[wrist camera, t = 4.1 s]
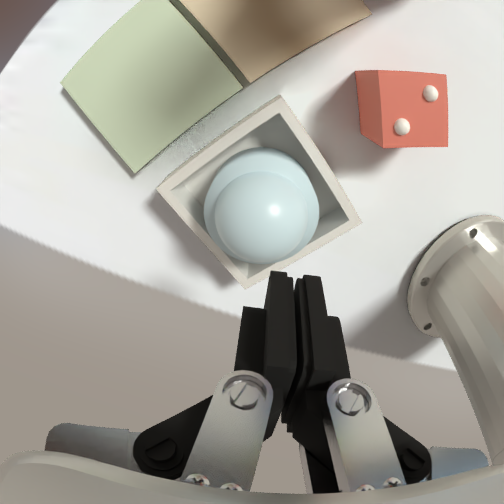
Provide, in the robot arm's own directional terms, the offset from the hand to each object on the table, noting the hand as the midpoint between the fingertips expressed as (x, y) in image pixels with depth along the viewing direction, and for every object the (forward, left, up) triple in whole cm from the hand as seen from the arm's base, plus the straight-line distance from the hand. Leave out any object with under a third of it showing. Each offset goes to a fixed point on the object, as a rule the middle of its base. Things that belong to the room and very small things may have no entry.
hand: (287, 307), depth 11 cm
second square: (+9, -7, -11) cm, 15 cm away
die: (-6, -7, -11) cm, 14 cm away
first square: (+2, -13, -11) cm, 17 cm away
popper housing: (+1, 0, -11) cm, 11 cm away
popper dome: (+1, 0, -10) cm, 9 cm away
